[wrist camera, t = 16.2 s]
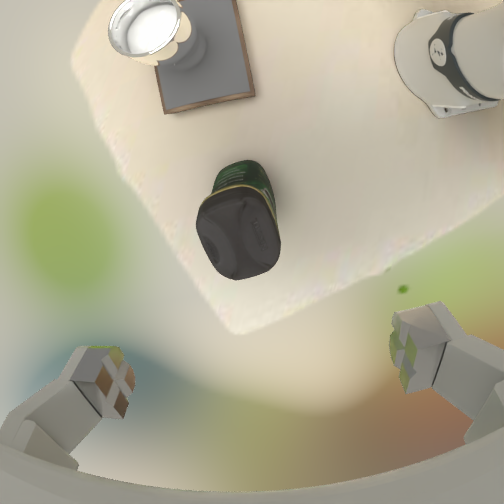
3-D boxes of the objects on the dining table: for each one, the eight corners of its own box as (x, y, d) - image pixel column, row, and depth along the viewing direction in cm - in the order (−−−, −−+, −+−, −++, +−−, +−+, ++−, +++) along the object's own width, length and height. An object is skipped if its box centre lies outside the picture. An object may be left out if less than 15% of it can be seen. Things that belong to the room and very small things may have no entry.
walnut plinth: (235, -1, 33) (232, -14, 28) (255, 95, 40) (254, 94, 35) (155, 19, 34) (143, 10, 29) (174, 113, 41) (163, 114, 36)
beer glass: (156, 31, 31) (105, 1, 17) (208, 21, 30) (181, -20, 17) (159, 78, 34) (107, 68, 20) (212, 69, 33) (185, 49, 20)
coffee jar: (209, 171, 45) (179, 213, 28) (259, 153, 44) (259, 184, 27) (232, 228, 49) (219, 295, 32) (280, 211, 48) (292, 273, 31)
